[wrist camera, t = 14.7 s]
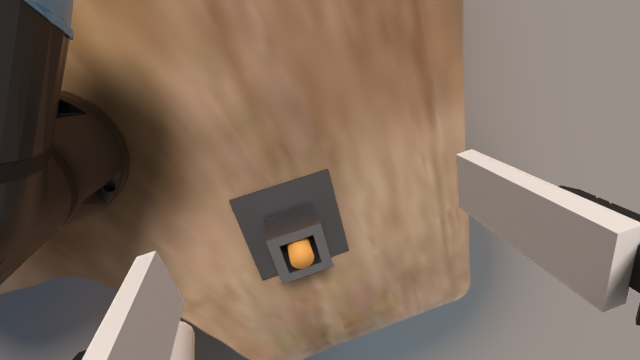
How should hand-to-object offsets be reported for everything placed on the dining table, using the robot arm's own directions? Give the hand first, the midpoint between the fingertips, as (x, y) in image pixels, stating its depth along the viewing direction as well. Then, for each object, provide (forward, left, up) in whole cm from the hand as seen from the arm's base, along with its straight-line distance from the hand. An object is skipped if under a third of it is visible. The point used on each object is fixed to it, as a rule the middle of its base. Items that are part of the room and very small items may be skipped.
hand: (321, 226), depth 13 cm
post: (-2, -17, -29) cm, 33 cm away
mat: (-2, -17, -29) cm, 33 cm away
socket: (-2, -17, -28) cm, 32 cm away
